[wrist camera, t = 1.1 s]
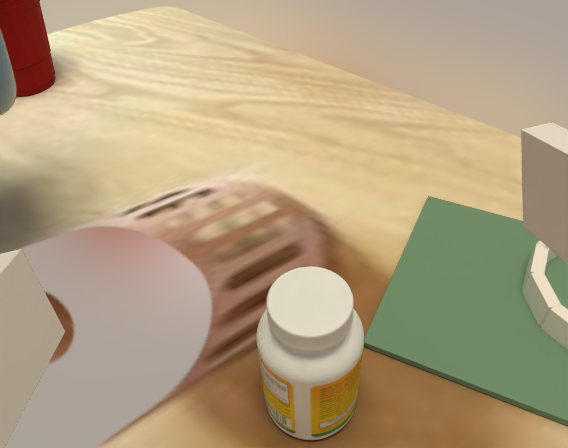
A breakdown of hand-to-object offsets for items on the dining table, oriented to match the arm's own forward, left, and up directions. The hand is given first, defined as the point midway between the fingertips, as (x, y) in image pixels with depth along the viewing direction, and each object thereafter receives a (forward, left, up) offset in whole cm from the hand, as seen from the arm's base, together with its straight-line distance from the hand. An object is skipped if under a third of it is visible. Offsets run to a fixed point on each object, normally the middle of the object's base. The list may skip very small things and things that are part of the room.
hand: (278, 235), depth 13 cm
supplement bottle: (-1, +5, -19) cm, 20 cm away
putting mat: (+10, +17, -19) cm, 27 cm away
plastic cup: (-47, +26, -19) cm, 57 cm away
